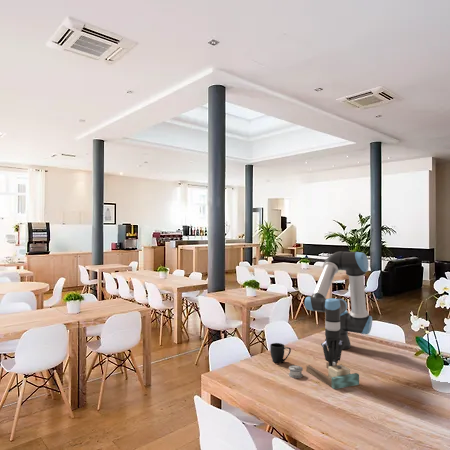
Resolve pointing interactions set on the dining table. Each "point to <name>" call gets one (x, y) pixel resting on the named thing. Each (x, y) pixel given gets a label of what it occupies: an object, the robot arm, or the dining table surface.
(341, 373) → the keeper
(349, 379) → the channel
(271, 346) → the mug
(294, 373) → the gray yo-yo
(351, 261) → the robot arm
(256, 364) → the dining table surface
